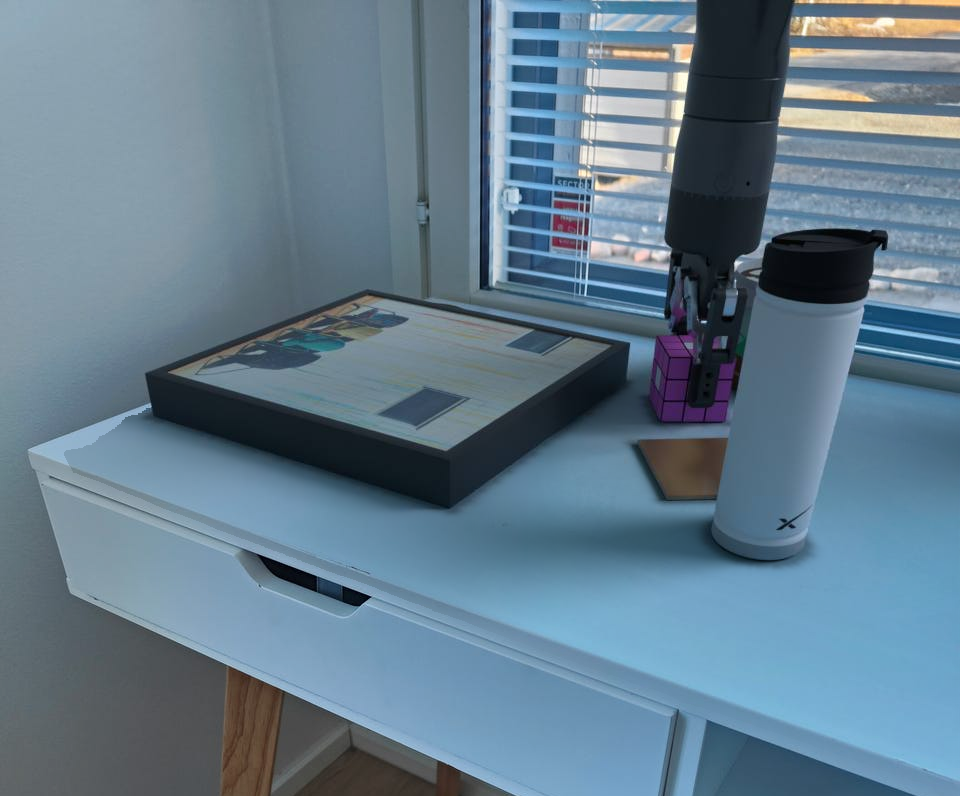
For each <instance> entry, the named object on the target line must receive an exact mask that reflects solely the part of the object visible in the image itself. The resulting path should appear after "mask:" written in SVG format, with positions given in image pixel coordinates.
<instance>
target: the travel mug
mask: <svg viewBox="0 0 960 796" xmlns="http://www.w3.org/2000/svg"><path fill="white" fill-rule="evenodd" d="M888 244H889V234H888V231H887V230H883V229H871V230H870V231H869V230H865V229H858V228H845V227H843V228H841V227H840V228H839V227H829V228H828V227H827V228H826V227H825V228H824V227H823V228H811V229H810V228H809V229H800V230H793V231H789V232H784V233H780V234H777V235H775V236H773V237H771V241H770V242H767V243H766V244H765V245H764V250H763V256H762V258H763V260H762V269H763V270H762V271H761V272H760V276H759V281H758V283H757V287H756V294H757V295H756V296H755V298H754V303H753V308H752V314H751V319H750V324H749V330H748V335H747V340H746V346H745V351H744V357H743V362H742V367H741V373H740V378H739V383H738V389H737V390H736V395H735V401H734V406H733V410H732V416H731V422H730V427H729V432H728V437H727V438H728V442H727V448H726V453H725V458H724V464H723V469H722V474H721V480H720V485H719V491H718V496H717V499H716V500H715V501H716V502H715V508H714V513H713V516H712V517H713V518H712V523H711V530H710V531H711V535H712V537H713V539H714V540H715V542H716V543H717V544H718V545H719V546H720V547H722V548H724V550H726V551H728V552H730V553H732V554H735V555H738V556H740V557H744V558H746V559H752V560H759V561H777V560H783V559H786V558H787V559H788V558H790V557H793V556H795V555H797V554H799V553H800V552H801V550H803V549H804V546H805V543H806V540H807V535H808V532H809V526H810V523H811V520H812V517H813V511H814V508H815V504H816V500H817V496H818V493H819V489H820V485H821V482H822V476H823V473H824V469H825V466H826V461H827V457H828V454H829V449H830V445H831V442H832V438H833V435H834V430H835V426H836V423H837V420H838V419H837V418H838V415H839V412H840V411H839V410H840V407H841V403H842V398H843V396H844V391H845V388H846V384H847V380H848V376H849V372H850V367H851V363H852V360H853V356H854V353H855V349H856V344H857V340H858V336H859V332H860V330H861V329H860V328H861V325H862V321H863V318H864V313H865V307H864V306H865V305H866V304H867V301H868V297H869V290H870V286H871V283H870V280H871V279H872V278H873V275H874V274H873V273H874V269H875V262H874V261H875V252H876V251H877V249H878V248H880V246H881V248H880V249H881V251H887V249H888Z"/></svg>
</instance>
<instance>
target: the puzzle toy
mask: <svg viewBox="0 0 960 796" xmlns="http://www.w3.org/2000/svg"><path fill="white" fill-rule="evenodd" d="M703 338H704V336H703ZM712 349H716V338H715V339H714V343H713V348H712ZM692 357H693V338H692V337H691V336H690V335H679V336H677V335H671V334H670V335H669V334H667V335H665V334H659V335H656V336H655V343H654V351H653V359H652V364H651V365H652V367H651V374H650V381H649V382H650V383H649V390H648V400H649V401H650V403H651V405H652V407H653V409H654V411H655V413H656V415H657V417H658V419H659V422H661V423H681V422H683V423H724V422H726V420H727V414H728V410H729V409H728V408H729V403H730V398H731V392H732V382H733V380H732V379H733V376H734V371H735V365H736V360H737V358H736V357H735V359H734V362H733V364H721V368H720V373H719V379H718V385H717V391H716V396H715V402H714V405H713V406H712V407H710V408H691V407H690V406H689V404H688V403H687V395H688V388H689V382H690V375H691V369H692V362H693V358H692Z"/></svg>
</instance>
